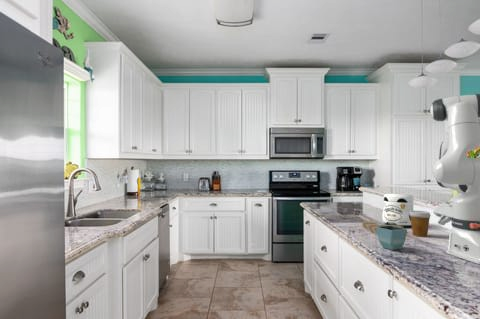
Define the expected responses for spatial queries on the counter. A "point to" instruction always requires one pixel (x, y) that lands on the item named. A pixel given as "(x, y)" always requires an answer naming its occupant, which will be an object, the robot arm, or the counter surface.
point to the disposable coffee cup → (420, 223)
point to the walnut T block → (374, 226)
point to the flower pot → (391, 236)
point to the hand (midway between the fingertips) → (440, 224)
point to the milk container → (397, 209)
